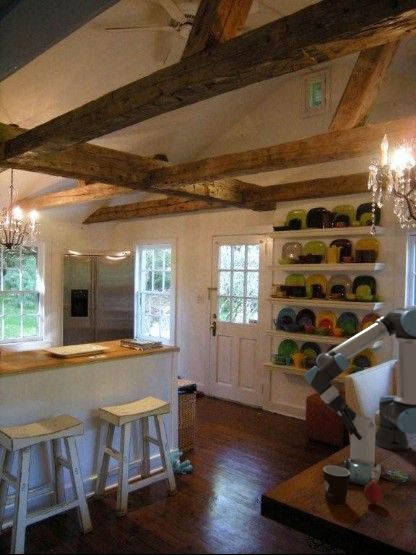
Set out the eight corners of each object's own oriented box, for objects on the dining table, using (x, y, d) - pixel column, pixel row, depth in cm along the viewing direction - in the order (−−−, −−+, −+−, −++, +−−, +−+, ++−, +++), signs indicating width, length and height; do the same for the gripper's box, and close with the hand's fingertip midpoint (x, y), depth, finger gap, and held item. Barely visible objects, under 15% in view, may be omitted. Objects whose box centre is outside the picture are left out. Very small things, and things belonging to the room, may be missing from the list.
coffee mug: (350, 509, 141) (351, 477, 142) (322, 505, 143) (323, 473, 143) (346, 493, 152) (347, 464, 153) (320, 490, 154) (321, 461, 155)
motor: (349, 466, 178) (349, 447, 179) (380, 473, 173) (381, 453, 173) (339, 483, 161) (340, 462, 162) (374, 491, 156) (374, 469, 156)
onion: (372, 509, 141) (373, 484, 142) (359, 501, 147) (360, 477, 147) (386, 507, 144) (387, 482, 144) (373, 499, 149) (373, 475, 149)
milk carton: (365, 466, 179) (367, 419, 180) (350, 461, 184) (351, 415, 185) (374, 463, 184) (375, 416, 185) (358, 457, 189) (360, 412, 190)
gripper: (332, 399, 203) (366, 439, 195) (320, 409, 182) (357, 455, 174) (345, 389, 201) (379, 429, 193) (333, 398, 179) (372, 444, 172)
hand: (369, 441), depth 183 cm, fingers open, 12 cm apart
